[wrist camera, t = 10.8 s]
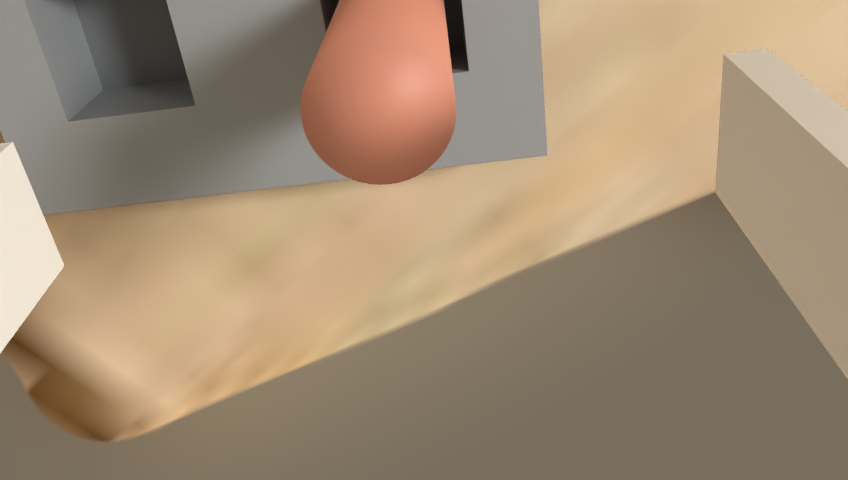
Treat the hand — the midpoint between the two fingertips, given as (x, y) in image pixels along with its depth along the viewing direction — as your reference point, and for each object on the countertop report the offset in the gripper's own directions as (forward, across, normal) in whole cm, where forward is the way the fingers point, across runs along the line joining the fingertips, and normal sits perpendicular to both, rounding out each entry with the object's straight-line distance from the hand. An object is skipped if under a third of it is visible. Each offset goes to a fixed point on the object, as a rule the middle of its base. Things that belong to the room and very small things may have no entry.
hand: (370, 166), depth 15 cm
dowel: (+18, 0, -1) cm, 18 cm away
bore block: (+18, -5, -1) cm, 19 cm away
